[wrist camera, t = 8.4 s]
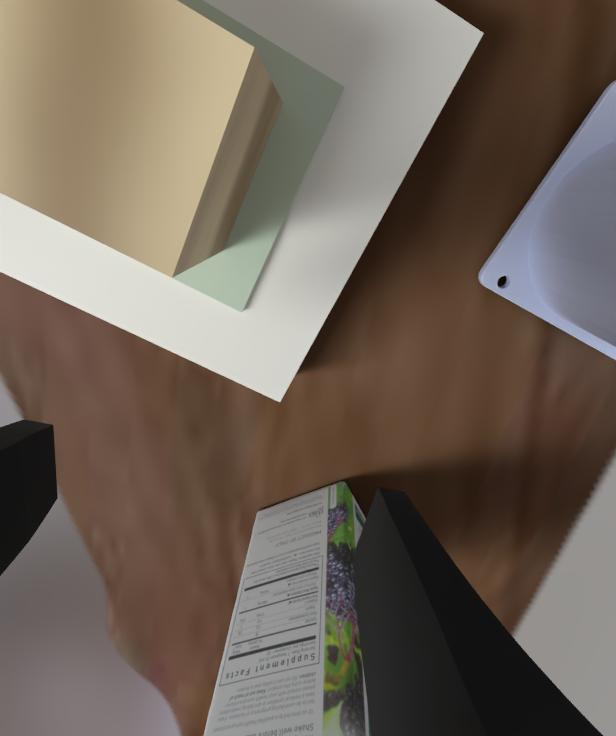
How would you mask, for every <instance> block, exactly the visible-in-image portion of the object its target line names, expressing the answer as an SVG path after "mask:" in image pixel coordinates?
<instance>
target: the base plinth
mask: <svg viewBox="0 0 616 736" xmlns="http://www.w3.org/2000/svg"><path fill="white" fill-rule="evenodd" d="M177 1H179V2H181V3H182V4H184V5H186V6H187V7H189V8H191V9H192V10H194V11H195V12H197V13H199V14H200V15H202V16H204V17H205V18H207V19H209V20H210V21H212V22H214V23H215V24H217V25H219V26H220V27H222V28H224V29H225V30H227V31H228V32H230V33H232V34H233V35H235V36H237V37H238V38H240V39H242V40H243V41H245V42H247V43H248V44H250V45H252V46H253V47H255V49H256V51H257V53H258V55H259V57H260V59H261V61H262V63H263V65H264V67H265V69H266V71H267V72H268V74H269V76H270V78H271V80H272V82H273V84H274V86H275V88H276V90H277V92H278V94H279V96H280V98H281V100H282V102H283V103H282V106H281V108H280V111H279V113H278V116H277V118H276V121H275V123H274V126H273V128H272V131H271V133H270V136H269V138H268V141H267V143H266V146H265V148H264V150H263V153H262V155H261V158H260V160H259V163H258V165H257V168H256V170H255V173H254V175H253V178H252V180H251V183H250V185H249V188H248V190H247V193H246V195H245V198H244V200H243V203H242V205H241V208H240V210H239V213H238V215H237V218H236V220H235V222H234V225H233V227H232V230H231V232H230V235H229V237H228V240H227V242H226V245H225V247H224V250H223V251H222V252H220V253H218V254H216V255H214V256H212V257H210V258H208V259H207V260H205V261H203V262H201V263H199V264H197V265H195V266H194V267H192V268H190V269H188V270H186V271H184V272H182V273H180V274H179V275H177V276H175V277H173V278H171V277H169V276H167V275H165V274H163V273H161V272H159V271H157V270H155V269H153V268H151V267H149V266H147V265H145V264H143V263H141V262H138V261H136V260H134V259H132V258H130V257H128V256H126V255H124V254H122V253H120V252H118V251H116V250H114V249H112V248H110V247H108V246H106V245H104V244H102V243H100V242H98V241H96V240H94V239H92V238H90V237H88V236H86V235H84V234H82V233H80V232H78V231H76V230H74V229H72V228H70V227H68V226H66V225H64V224H62V223H60V222H58V221H56V220H54V219H52V218H50V217H48V216H46V215H44V214H42V213H40V212H38V211H36V210H34V209H32V208H30V207H28V206H26V205H24V204H22V203H20V202H18V201H16V200H14V199H12V198H10V197H7V196H5V195H3V194H1V193H0V272H2V273H4V274H6V275H8V276H11V277H13V278H15V279H17V280H19V281H21V282H23V283H26V284H28V285H30V286H32V287H34V288H36V289H38V290H41V291H43V292H45V293H47V294H49V295H51V296H53V297H56V298H58V299H60V300H62V301H64V302H66V303H68V304H71V305H73V306H75V307H77V308H79V309H81V310H83V311H86V312H88V313H90V314H92V315H94V316H96V317H98V318H101V319H103V320H105V321H107V322H109V323H111V324H113V325H116V326H118V327H120V328H122V329H124V330H126V331H128V332H131V333H133V334H135V335H137V336H139V337H141V338H143V339H145V340H148V341H150V342H152V343H154V344H156V345H158V346H160V347H163V348H165V349H167V350H169V351H171V352H173V353H175V354H178V355H180V356H182V357H184V358H186V359H188V360H190V361H193V362H195V363H197V364H199V365H201V366H203V367H205V368H208V369H210V370H212V371H214V372H216V373H218V374H220V375H223V376H225V377H227V378H229V379H231V380H233V381H235V382H238V383H240V384H242V385H244V386H246V387H248V388H250V389H253V390H255V391H257V392H259V393H261V394H263V395H265V396H268V397H270V398H272V399H274V400H276V401H278V402H280V401H281V400H282V398H283V396H284V394H285V392H286V390H287V389H288V387H289V385H290V383H291V381H292V380H293V378H294V376H295V374H296V372H297V371H298V369H299V367H300V365H301V363H302V362H303V360H304V358H305V356H306V354H307V352H308V351H309V349H310V347H311V345H312V343H313V342H314V340H315V338H316V336H317V334H318V333H319V331H320V329H321V327H322V325H323V324H324V322H325V320H326V318H327V316H328V314H329V313H330V311H331V309H332V307H333V305H334V304H335V302H336V300H337V298H338V296H339V295H340V293H341V291H342V289H343V287H344V286H345V284H346V282H347V280H348V278H349V276H350V275H351V273H352V271H353V269H354V267H355V266H356V264H357V262H358V260H359V258H360V257H361V255H362V253H363V251H364V249H365V248H366V246H367V244H368V242H369V240H370V238H371V237H372V235H373V233H374V231H375V229H376V228H377V226H378V224H379V222H380V220H381V219H382V217H383V215H384V213H385V211H386V210H387V208H388V206H389V204H390V202H391V200H392V199H393V197H394V195H395V193H396V191H397V190H398V188H399V186H400V184H401V182H402V181H403V179H404V177H405V175H406V173H407V172H408V170H409V168H410V166H411V164H412V162H413V161H414V159H415V157H416V155H417V153H418V152H419V150H420V148H421V146H422V144H423V143H424V141H425V139H426V137H427V135H428V134H429V132H430V130H431V128H432V126H433V124H434V123H435V121H436V119H437V117H438V115H439V114H440V112H441V110H442V108H443V106H444V105H445V103H446V101H447V99H448V97H449V96H450V94H451V92H452V90H453V88H454V86H455V85H456V83H457V81H458V79H459V77H460V76H461V74H462V72H463V70H464V68H465V67H466V65H467V63H468V61H469V59H470V58H471V56H472V54H473V52H474V50H475V48H476V47H477V45H478V43H479V41H480V39H481V38H482V36H483V34H484V33H483V32H481V31H480V30H478V29H477V28H475V27H474V26H472V25H471V24H469V23H468V22H466V21H465V20H463V19H462V18H460V17H459V16H458V15H456V14H455V13H453V12H452V11H450V10H449V9H447V8H446V7H444V6H443V5H441V4H440V3H438V2H437V1H435V0H177Z"/></svg>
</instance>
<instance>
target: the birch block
mask: <svg viewBox="0 0 616 736" xmlns="http://www.w3.org/2000/svg"><path fill="white" fill-rule="evenodd" d="M282 103H283V102H282V100H281V98H280V96H279V94H278V92H277V90H276V88H275V86H274V84H273V82H272V80H271V78H270V76H269V74H268V72H267V71H266V69H265V67H264V65H263V63H262V61H261V59H260V57H259V55H258V53H257V51H256V49H255V47H253V46H252V45H250V44H248V43H247V42H245V41H243V40H242V39H240V38H238V37H237V36H235V35H233V34H232V33H230V32H228V31H227V30H225V29H224V28H222V27H220V26H219V25H217V24H215V23H214V22H212V21H210V20H209V19H207V18H205V17H204V16H202V15H200V14H199V13H197V12H195V11H194V10H192V9H191V8H189V7H187V6H186V5H184V4H182V3H181V2H179V1H177V0H0V193H1V194H3V195H5V196H7V197H10V198H12V199H14V200H16V201H18V202H20V203H22V204H24V205H26V206H28V207H30V208H32V209H34V210H36V211H38V212H40V213H42V214H44V215H46V216H48V217H50V218H52V219H54V220H56V221H58V222H60V223H62V224H64V225H66V226H68V227H70V228H72V229H74V230H76V231H78V232H80V233H82V234H84V235H86V236H88V237H90V238H92V239H94V240H96V241H98V242H100V243H102V244H104V245H106V246H108V247H110V248H112V249H114V250H116V251H118V252H120V253H122V254H124V255H126V256H128V257H130V258H132V259H134V260H136V261H138V262H141V263H143V264H145V265H147V266H149V267H151V268H153V269H155V270H157V271H159V272H161V273H163V274H165V275H167V276H169V277H171V278H173V277H175V276H177V275H179V274H180V273H182V272H184V271H186V270H188V269H190V268H192V267H194V266H195V265H197V264H199V263H201V262H203V261H205V260H207V259H208V258H210V257H212V256H214V255H216V254H218V253H220V252H222V251H223V250H224V247H225V245H226V242H227V240H228V237H229V235H230V232H231V230H232V227H233V225H234V222H235V220H236V218H237V215H238V213H239V210H240V208H241V205H242V203H243V200H244V198H245V195H246V193H247V190H248V188H249V185H250V183H251V180H252V178H253V175H254V173H255V170H256V168H257V165H258V163H259V160H260V158H261V155H262V153H263V150H264V148H265V146H266V143H267V141H268V138H269V136H270V133H271V131H272V128H273V126H274V123H275V121H276V118H277V116H278V113H279V111H280V108H281V106H282Z"/></svg>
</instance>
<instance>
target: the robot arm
mask: <svg viewBox="0 0 616 736" xmlns="http://www.w3.org/2000/svg"><path fill="white" fill-rule="evenodd" d="M502 276H506V279H507V280H506V283H505V284H504V285H503V286H500V287H498V285H497V282H498V279H499V278H500V277H502ZM479 281H480V283H481V284H482V285H483V286H485V287H486V288H488V289H490V290H492V291H494V292H495V293H497V294H499V295H501V296H502V297H504V298H506V299H508V300H510V301H511V302H513V303H515V304H517V305H519V306H520V307H522V308H524V309H526V310H527V311H529V312H531V313H533V314H535V315H536V316H538V317H540V318H542V319H543V320H545V321H547V322H549V323H551V324H552V325H554V326H556V327H558V328H559V329H561V330H563V331H565V332H567V333H568V334H570V335H572V336H574V337H576V338H577V339H579V340H581V341H583V342H584V343H586V344H588V345H590V346H592V347H593V348H595V349H597V350H599V351H600V352H602V353H604V354H606V355H608V356H609V357H611V358H613V359H615V360H616V81H614V82H612V83H611V84H610V85H609V86H608V87H607V88H606V89H605V91H604V92H603V94H602V95H601V96H600V98H599V99H598V101H597V102H596V104H595V105H594V107H593V108H592V109H591V111H590V112H589V114H588V115H587V117H586V118H585V120H584V121H583V122H582V124H581V125H580V127H579V128H578V130H577V131H576V133H575V134H574V135H573V137H572V138H571V140H570V141H569V143H568V144H567V146H566V147H565V148H564V150H563V151H562V153H561V154H560V156H559V157H558V159H557V160H556V162H555V163H554V164H553V166H552V167H551V169H550V170H549V172H548V173H547V175H546V176H545V177H544V179H543V180H542V182H541V183H540V185H539V186H538V188H537V189H536V190H535V192H534V193H533V195H532V196H531V198H530V199H529V201H528V202H527V203H526V205H525V206H524V208H523V209H522V211H521V212H520V214H519V215H518V216H517V218H516V219H515V221H514V222H513V224H512V225H511V227H510V228H509V229H508V231H507V232H506V234H505V235H504V237H503V238H502V240H501V241H500V242H499V244H498V245H497V247H496V248H495V250H494V251H493V253H492V254H491V255H490V257H489V258H488V260H487V261H486V263H485V264H484V266H483V267H482V269H481V270H480V272H479ZM56 500H57V481H56V465H55V448H54V431H53V425H51V424H45V423H40V422H35V421H30V420H21V421H18V422H15V423H12V424H9V425H6V426H3V427H0V576H1V574H2V573H3V572H4V571H5V570H6V568H7V567H8V566H9V565H10V564H11V562H12V561H13V560H14V559H15V558H16V556H17V555H18V554H19V553H20V552H21V550H22V549H23V548H24V546H25V545H26V544H27V543H28V542H29V540H30V539H31V537H32V536H33V535H34V533H35V532H36V530H37V529H38V527H39V526H40V524H41V523H42V521H43V520H44V518H45V517H46V515H47V514H48V512H49V511H50V509H51V507H52V506H53V504H54V503H55V501H56ZM354 579H355V604H356V613H357V621H358V630H359V638H360V646H361V654H362V662H363V670H364V678H365V686H366V694H367V702H368V710H369V718H370V728H371V736H603V735H602V734H601V733H600V732H599V731H598V730H597V729H596V728H595V727H594V726H593V725H592V724H591V723H590V722H589V721H588V720H587V719H586V718H585V717H584V716H583V715H582V714H581V713H580V711H579V710H578V709H577V708H576V707H575V706H574V705H573V704H572V703H571V702H570V701H569V700H568V699H567V698H566V697H565V696H564V695H563V693H562V692H561V691H560V690H559V689H558V688H557V687H556V686H555V684H554V683H553V682H552V681H551V680H550V679H549V678H548V677H547V676H546V675H545V674H544V672H543V671H542V670H541V669H540V668H539V667H538V666H537V665H536V664H535V662H534V661H533V660H532V659H531V658H530V657H529V656H528V655H527V653H526V652H525V651H524V650H523V649H522V648H521V646H520V645H519V644H518V643H517V642H516V641H515V639H514V638H513V637H512V636H511V635H510V634H509V632H508V631H507V630H506V629H505V627H504V626H503V625H502V624H501V622H500V621H499V620H498V619H497V617H496V616H495V615H494V614H493V613H492V611H491V610H490V609H489V608H488V606H487V605H486V604H485V603H484V601H483V600H482V599H481V598H480V596H479V595H478V594H477V592H476V591H475V590H474V589H473V587H472V586H471V585H470V583H469V582H468V581H467V579H466V578H465V577H464V575H463V574H462V573H461V571H460V570H459V569H458V567H457V566H456V565H455V563H454V562H453V561H452V559H451V558H450V556H449V555H448V554H447V552H446V551H445V550H444V548H443V547H442V545H441V544H440V543H439V541H438V540H437V538H436V537H435V535H434V534H433V533H432V531H431V530H430V528H429V527H428V525H427V524H426V523H425V521H424V520H423V518H422V517H421V515H420V514H419V512H418V511H417V510H416V508H415V507H414V505H413V504H412V502H411V501H410V500H409V498H408V497H407V495H406V494H405V493H404V492H401V491H396V490H391V489H386V488H380V487H378V488H377V491H376V493H375V496H374V499H373V502H372V504H371V507H370V510H369V513H368V515H367V518H366V521H365V524H364V526H363V529H362V532H361V535H360V538H359V540H358V543H357V546H356V549H355V551H354Z"/></svg>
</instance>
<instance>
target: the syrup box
mask: <svg viewBox="0 0 616 736" xmlns="http://www.w3.org/2000/svg"><path fill="white" fill-rule="evenodd" d="M365 521H366V518H365V516H364V515H363V513H362V511H361V509H360V507H359V505H358V504H357V502H356V500H355V498H354V496H353V495H352V493H351V491H350V489H349V488H348V486H347V484H346V483H345V482H339V483H336V484H333V485H330V486H327V487H324V488H321V489H319V490H316V491H313V492H310V493H307V494H304V495H301V496H299V497H296V498H293V499H290V500H288V501H285V502H282V503H280V504H277V505H274V506H272V507H269V508H266V509H263V510H261V511H258V512H257V515H256V520H255V523H254V528H253V532H252V537H251V541H250V545H249V548H248V553H247V557H246V561H245V566H244V570H243V573H242V578H241V582H240V586H239V590H238V595H237V600H236V603H235V607H234V611H233V615H232V619H231V623H230V628H229V632H228V636H227V641H226V645H225V649H224V654H223V658H222V662H221V666H220V670H219V674H218V678H217V682H216V686H215V690H214V695H213V699H212V703H211V707H210V711H209V715H208V720H207V724H206V728H205V732H204V736H371V728H370V718H369V710H368V702H367V694H366V686H365V678H364V670H363V662H362V654H361V646H360V638H359V630H358V621H357V613H356V604H355V579H354V551H355V549H356V546H357V543H358V540H359V538H360V535H361V532H362V529H363V526H364V524H365Z"/></svg>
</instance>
